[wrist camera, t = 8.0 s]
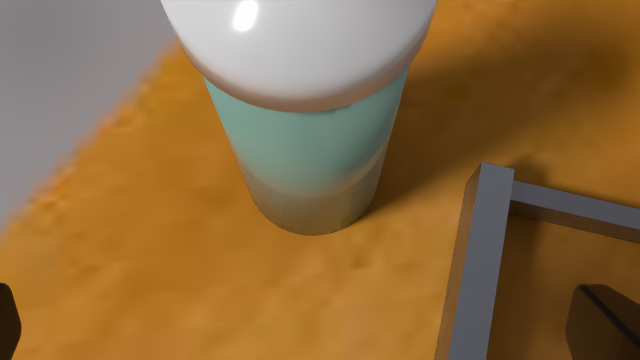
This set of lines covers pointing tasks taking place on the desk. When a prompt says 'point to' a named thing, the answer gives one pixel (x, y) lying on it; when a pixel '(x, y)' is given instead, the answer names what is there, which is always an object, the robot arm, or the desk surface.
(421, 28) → the jar
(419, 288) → the desk surface
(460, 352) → the frame
